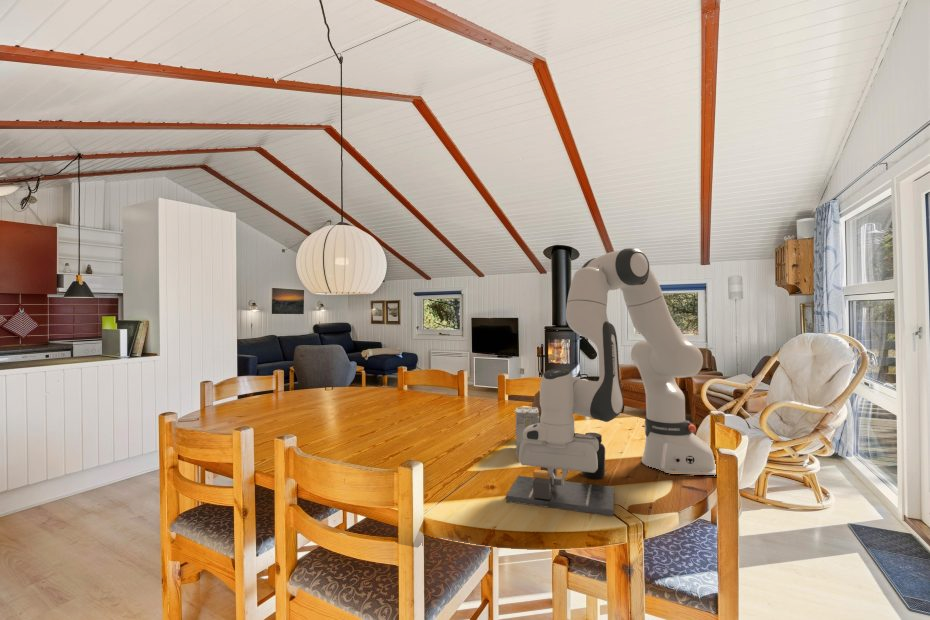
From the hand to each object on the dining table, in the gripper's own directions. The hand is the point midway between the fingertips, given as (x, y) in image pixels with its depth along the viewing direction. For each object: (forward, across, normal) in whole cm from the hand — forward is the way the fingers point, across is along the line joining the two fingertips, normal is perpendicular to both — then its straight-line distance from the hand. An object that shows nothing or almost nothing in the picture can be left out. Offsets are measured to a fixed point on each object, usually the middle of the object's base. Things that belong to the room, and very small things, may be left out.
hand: (558, 484), depth 115 cm
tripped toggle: (+1, +4, 0) cm, 4 cm away
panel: (+3, -1, 0) cm, 3 cm away
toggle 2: (+1, +3, +6) cm, 6 cm away
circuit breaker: (+3, +15, -34) cm, 37 cm away
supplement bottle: (+3, -8, -18) cm, 20 cm away
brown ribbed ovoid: (+3, +13, -53) cm, 55 cm away
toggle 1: (+1, +3, -5) cm, 6 cm away
